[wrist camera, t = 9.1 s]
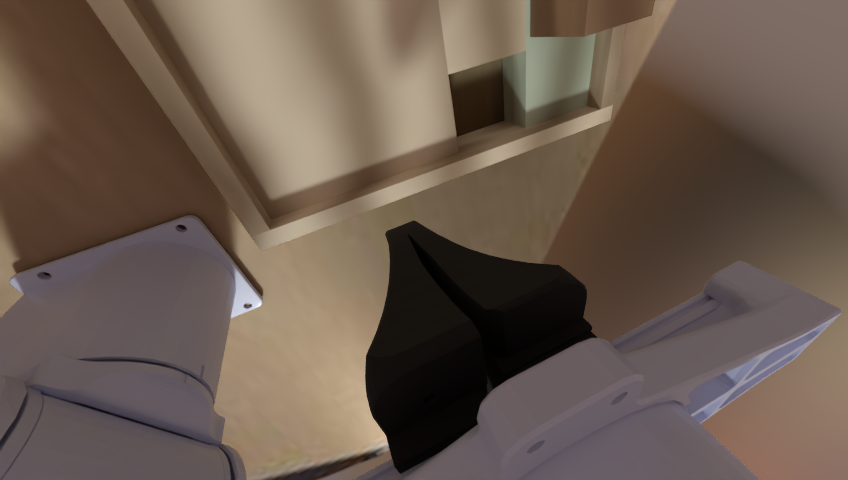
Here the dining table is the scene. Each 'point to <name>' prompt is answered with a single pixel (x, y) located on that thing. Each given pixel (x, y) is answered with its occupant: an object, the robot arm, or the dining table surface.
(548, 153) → the dining table surface
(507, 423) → the robot arm
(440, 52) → the box
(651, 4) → the walnut block
